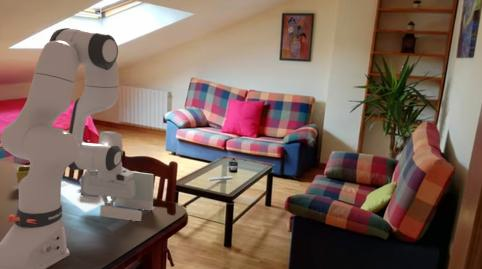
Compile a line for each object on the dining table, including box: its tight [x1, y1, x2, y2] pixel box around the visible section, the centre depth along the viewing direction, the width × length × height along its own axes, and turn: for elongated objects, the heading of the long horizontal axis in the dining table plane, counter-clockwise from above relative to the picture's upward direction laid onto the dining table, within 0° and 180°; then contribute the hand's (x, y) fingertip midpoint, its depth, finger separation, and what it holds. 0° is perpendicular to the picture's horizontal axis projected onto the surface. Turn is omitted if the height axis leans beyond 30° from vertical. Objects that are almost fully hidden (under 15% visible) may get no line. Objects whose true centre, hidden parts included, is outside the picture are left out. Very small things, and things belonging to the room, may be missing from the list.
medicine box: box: [80, 173, 101, 197], centre depth 168 cm, size 8×4×9 cm, turn 84°
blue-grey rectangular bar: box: [113, 204, 139, 211], centre depth 151 cm, size 3×10×2 cm, turn 81°
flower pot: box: [16, 165, 30, 185], centre depth 168 cm, size 9×9×9 cm
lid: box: [131, 170, 155, 203], centre depth 156 cm, size 12×16×1 cm
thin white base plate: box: [99, 198, 154, 222], centre depth 152 cm, size 12×16×4 cm
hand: (108, 206), depth 152 cm, fingers closed
